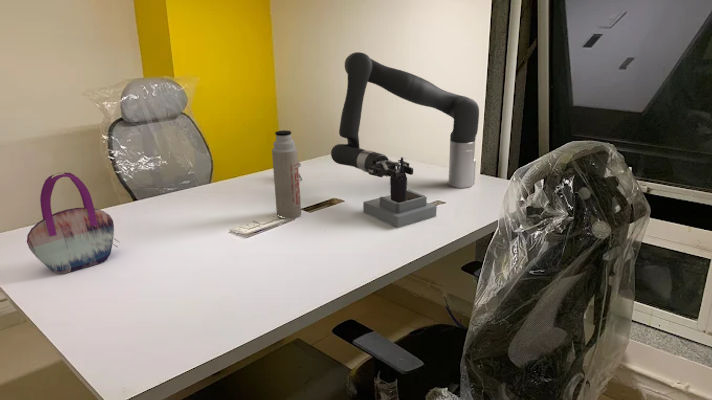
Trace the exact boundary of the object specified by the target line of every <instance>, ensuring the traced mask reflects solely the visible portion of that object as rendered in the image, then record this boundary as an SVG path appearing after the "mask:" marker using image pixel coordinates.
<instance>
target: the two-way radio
mask: <svg viewBox="0 0 712 400" xmlns="http://www.w3.org/2000/svg"><path fill="white" fill-rule="evenodd" d="M400 160H401V167H400V172H398V178H392V177H390V178H389V186H390V189H389V190H390V191H389V193H390V195H391V200H393V201H395V202H398V203H400V202H404V201H406V195H407V190H408V189H407V186H408V177H407V173H404V165H403V161H404V157H403V156H402V157H400ZM394 171H397V168H396V169H394Z"/></svg>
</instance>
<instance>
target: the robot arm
mask: <svg viewBox="0 0 712 400" xmlns="http://www.w3.org/2000/svg"><path fill="white" fill-rule="evenodd" d="M344 70H345V72H346V75H347V89H346V94H345V95H346V96H345V100H344V103H343V107H342V111H341V115H340V116H341V118H340V122H339V129H338V135H339V136H340V137H341V138H344V139H346V141H347V144H346V143H339V144H336V145H334V146H333V147H332V148H331V152H330V156H331V159H332V160H333V162H334V163H336V164H337V165H343V166H349V167H354V168H355V169H358V170H360V171H363V172H364V173H367V174H368V175H370V176H373V177H379V178H384V177H386V178H388V177H390V178H391V177H392V178H398V172H400V167H401V159H398V161H394V160H389V158H388V156H386V155H385V154H383V153H380V152H376V151H374V150H367V149H363V148H361V147H360V139H359V132H360V126H361V118H362V109H363V103H364V98H365V93H366V89H367V85H368V83H371V84H374V85H376V86H378V87H380V88H382V89H384V90H385V91H387V92H389V93H391V94H393V95H394V96H397V97H398V98H400V99H403V100H406V101H408V102H410V103H412V104H416V105H419V106H423V107H429V108H432V109H435V110H438V111H440V112H442V113H444V114H445V115H447V116H449V117H451V118H452V119H453V124H452V125H453V126H452V131H451V133H450V135H449V137H450V139H449V140H450V141H449V158H448V159H449V160H448V161H449V162H448V185H449V186H450V187H453V188H458V189H459V188H460V189H461V188H462V189H463V188H465V189H466V188H471V187H473V186H474V185H475V181H476V166H477V165H476V164H477V161H476V159H475V154H476V153H475V151H476V149H475V148H476V137H477V134H478V131H479V123H480V122H479V120H480V107H479V105H478V103H477V102H476V101H475V100H474V99H473V98H470V97H468V96H465V95H460V94H456V93H453V92H451V91H450V92H449V91H446V90H444V89H442V88H440V87H438V86H437V85H435V84H433V83H432V82H431V81H428V80H426V79H425V78H422V77H420V76H418V75H415V74H413V73H411V72H408V71H405V70H401V69H397V68H393V67H390V66H387V65H384V64H383V63H380V62H378V61H376V60H374V59H373V58H371V57H370V56H369V55H368V54H366V53H363V52H358V51H357V52H353V53H350V54H349V55H347V57H346V58H345V60H344ZM403 165H404V173H405V174H406V175H410V176H411V175H414V168H413V167H410V163H409V162H407V161H404V160H403ZM394 169H397V171H394Z"/></svg>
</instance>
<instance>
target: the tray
mask: <svg viewBox="0 0 712 400" xmlns="http://www.w3.org/2000/svg"><path fill="white" fill-rule="evenodd" d="M427 198H428V197H427V196H426V195H424V194H423V193H419V192H416V191H413V190H411V189H407V195H406V201H404V202H400V203H398V202H395V201H393V200H391V194H390V195H389V194H388V195H386V196H379V197H377V198H374V199H370V200H366V201H363V205H362V206H363V207H362V208H363V213H365V214H367V215H369V214H370V215H369V216H371V215H372V217H373V216H374V218H376V219H378V220H380V221H382V222H384V223H387V224H389V225H391V226H393V227H394V228H395V227H396V228H397V229H399V228H402V227H406V226H409V225H411V224H412V225H413V224H416V223H419V222H422V221H425V220H428V219H431V218H436V217H437V207H438V206H437V205H434V204H432V203H429V202H427V200H428V199H427Z"/></svg>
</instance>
